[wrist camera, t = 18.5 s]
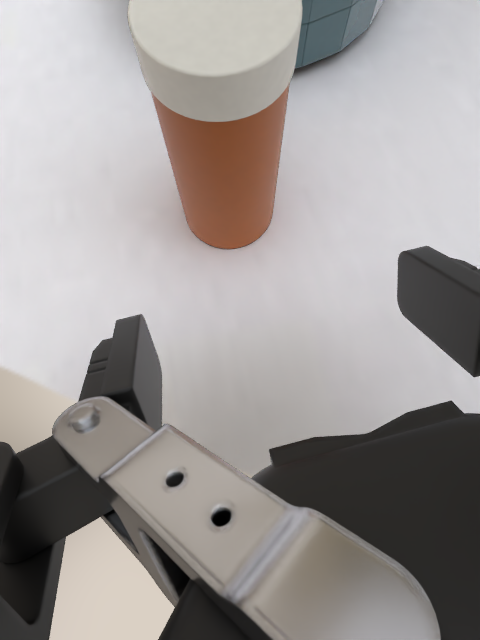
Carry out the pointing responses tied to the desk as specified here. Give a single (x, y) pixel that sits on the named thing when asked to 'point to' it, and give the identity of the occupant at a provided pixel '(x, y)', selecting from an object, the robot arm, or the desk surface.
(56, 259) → the desk surface
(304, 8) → the bowl
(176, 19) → the pill bottle
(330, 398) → the desk surface
